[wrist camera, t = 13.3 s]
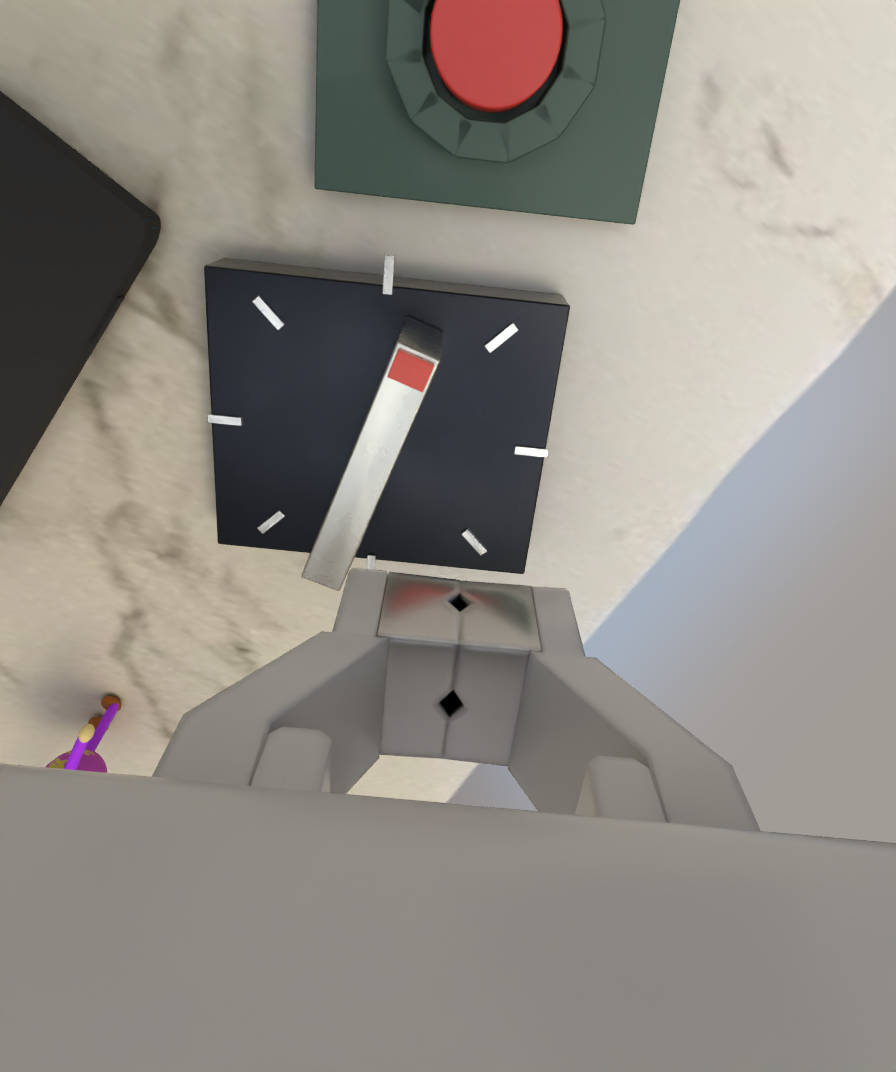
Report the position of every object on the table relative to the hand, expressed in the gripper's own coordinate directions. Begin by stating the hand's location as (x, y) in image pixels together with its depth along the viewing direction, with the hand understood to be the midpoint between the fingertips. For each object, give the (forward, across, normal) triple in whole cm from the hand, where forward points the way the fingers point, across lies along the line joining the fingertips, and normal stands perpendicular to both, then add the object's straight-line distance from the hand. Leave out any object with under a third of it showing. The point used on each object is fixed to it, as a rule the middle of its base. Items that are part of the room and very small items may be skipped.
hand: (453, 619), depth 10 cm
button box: (+23, 0, -9) cm, 25 cm away
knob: (+20, +3, +5) cm, 21 cm away
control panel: (+23, +3, +5) cm, 24 cm away
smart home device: (+23, +21, +4) cm, 31 cm away
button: (+20, 0, -9) cm, 22 cm away
